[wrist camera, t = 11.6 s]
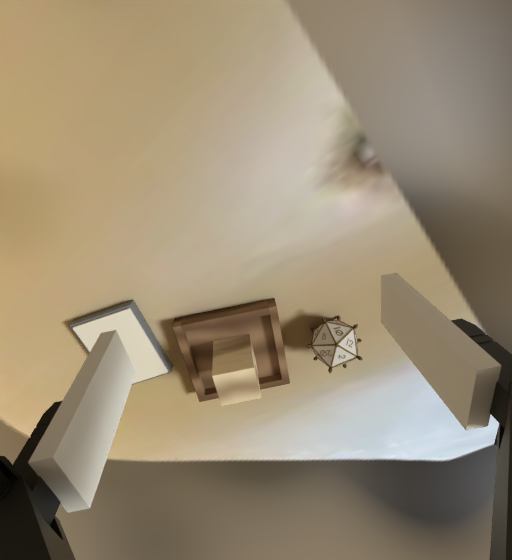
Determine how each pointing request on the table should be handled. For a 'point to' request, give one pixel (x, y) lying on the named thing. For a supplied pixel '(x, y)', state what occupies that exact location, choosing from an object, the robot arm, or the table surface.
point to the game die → (335, 343)
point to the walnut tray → (225, 324)
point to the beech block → (235, 370)
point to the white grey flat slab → (126, 338)
